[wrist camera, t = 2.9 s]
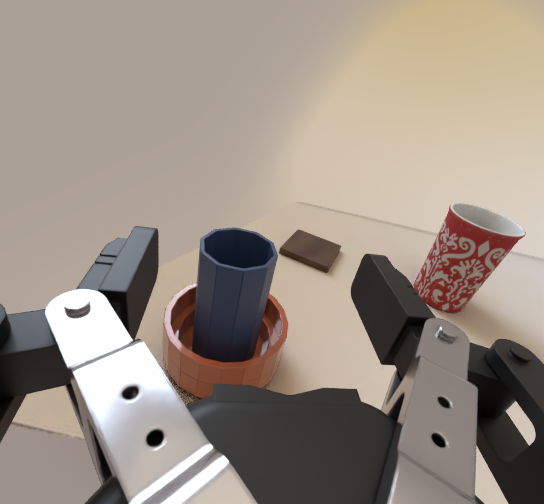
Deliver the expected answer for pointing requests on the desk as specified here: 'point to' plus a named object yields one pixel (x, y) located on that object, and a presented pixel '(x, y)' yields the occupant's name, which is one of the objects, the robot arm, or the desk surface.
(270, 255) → the tumbler
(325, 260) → the coaster
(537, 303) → the desk surface
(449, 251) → the mug
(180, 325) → the bowl
